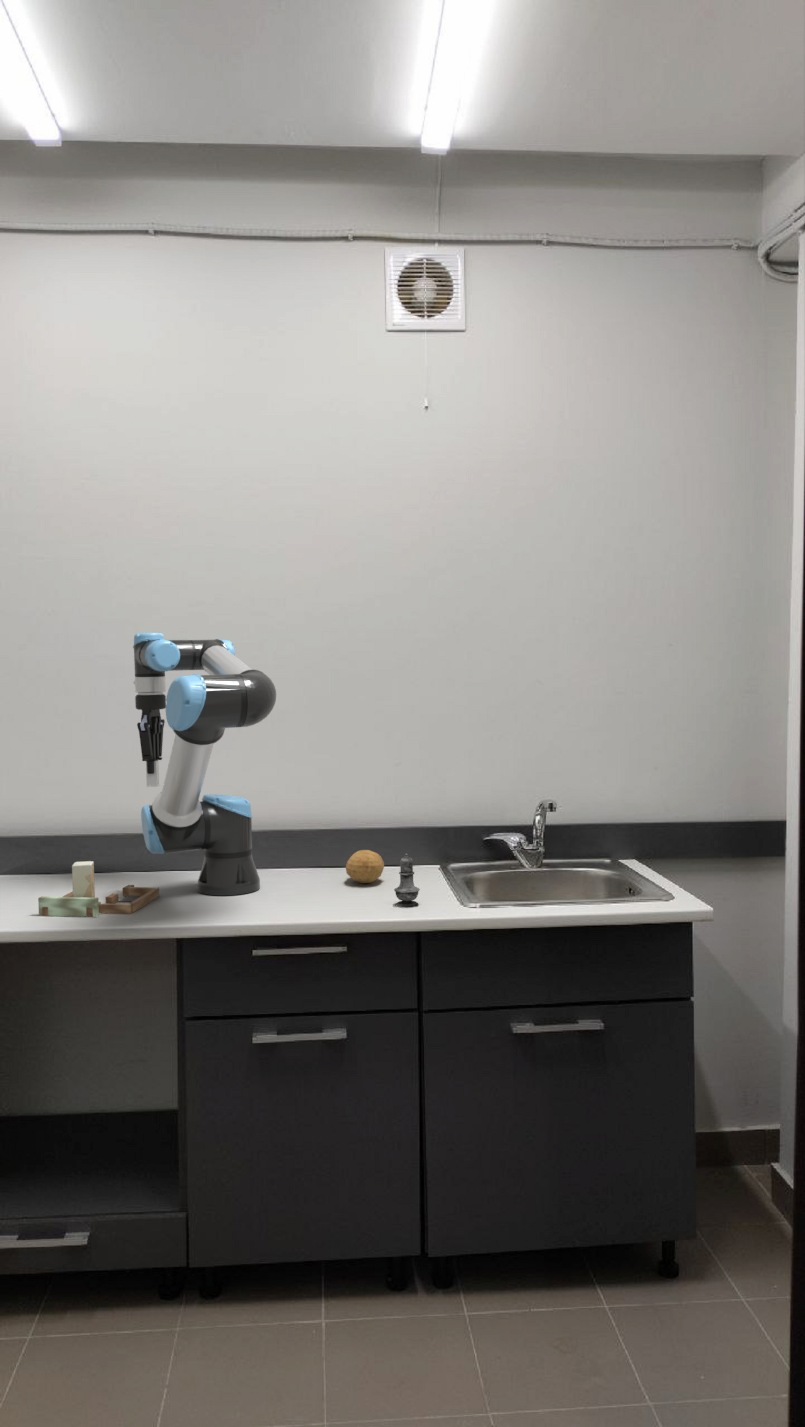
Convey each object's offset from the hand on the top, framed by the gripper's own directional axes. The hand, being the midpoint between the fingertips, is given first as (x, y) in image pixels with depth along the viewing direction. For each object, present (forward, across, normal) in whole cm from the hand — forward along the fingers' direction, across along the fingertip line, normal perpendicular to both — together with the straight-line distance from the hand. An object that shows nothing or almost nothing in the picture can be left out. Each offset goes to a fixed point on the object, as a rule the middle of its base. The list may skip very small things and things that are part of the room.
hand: (152, 786), depth 282 cm
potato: (+25, -3, +54) cm, 59 cm away
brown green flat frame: (+24, +26, -3) cm, 36 cm away
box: (+25, +33, -4) cm, 41 cm away
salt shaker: (+25, +20, +68) cm, 75 cm away
